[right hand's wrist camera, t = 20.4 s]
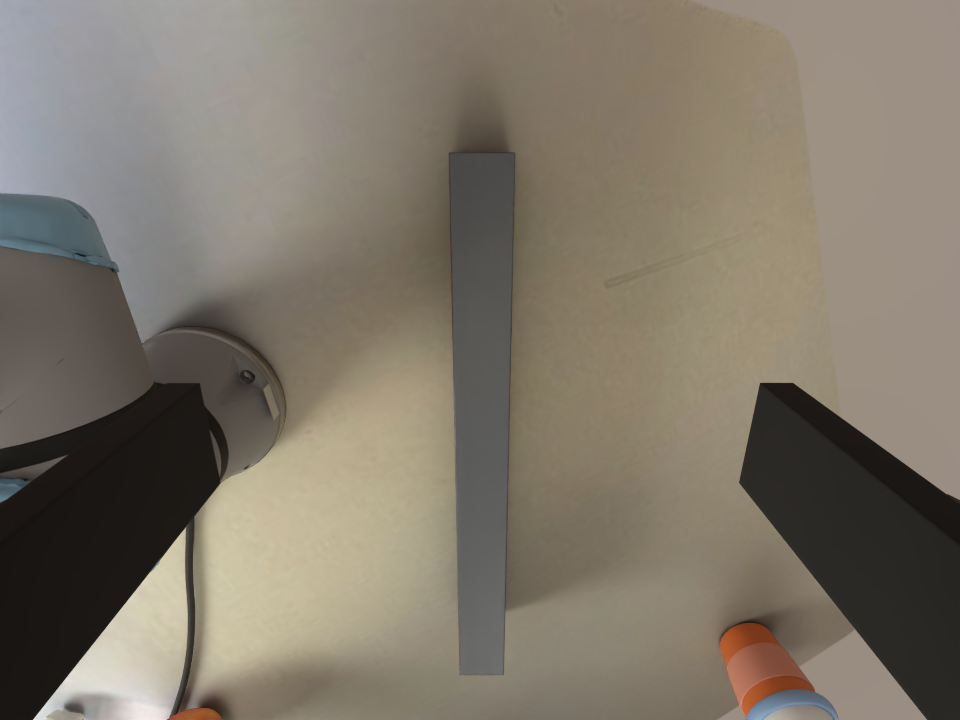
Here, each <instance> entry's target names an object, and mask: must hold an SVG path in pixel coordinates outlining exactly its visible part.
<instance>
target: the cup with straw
mask: <svg viewBox="0 0 960 720" xmlns="http://www.w3.org/2000/svg"><path fill="white" fill-rule="evenodd" d="M720 648H721V652H722V655H723V657H724V660H725V663H726V665H727V672H728V675H729V678H730V681H731V684H732V686H733V689H734V692H735V694H736V697H737V700H738V703H739V705H740V708H741V711H742V713H743V714H744V716H745V717H746V719H745V720H839V719H838V716H837V713H836V711H835V709H834V707H833V706H832V704H831V703H830V702H829V701H828V700H827V699H826V698H825V697H823V696H822V695H820V694H818V693H816V692H815V689H814V687H813V686H812V684H811V683H810V682H809V680H808V679H807V678H806V676H805V675H804V673H803V672H802V671H801V670H800V668H799V667H798V665H797V664H796V663H795V661H794V660H793V659H792V657H791V656H790V655H789V653H788V652H787V651H786V650H785V649H784V648H783V647H781V645H780V644H779V643H778V641H777V640H776V639H775V637H774V636H773V635H772V633H771V632H770V631H769V630H768V629H767V628H766V627H765V626H763V625H760V624H757V623H743V624H739V625H736V626H734V627H732V628H731V629H729V630H728V631H727V632H726V633H725V634H724V635H723V637H722V639H721V642H720Z"/></svg>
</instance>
